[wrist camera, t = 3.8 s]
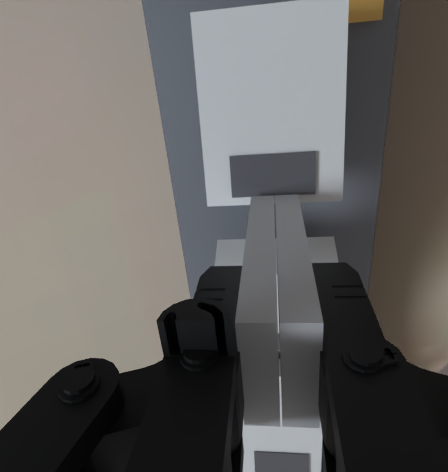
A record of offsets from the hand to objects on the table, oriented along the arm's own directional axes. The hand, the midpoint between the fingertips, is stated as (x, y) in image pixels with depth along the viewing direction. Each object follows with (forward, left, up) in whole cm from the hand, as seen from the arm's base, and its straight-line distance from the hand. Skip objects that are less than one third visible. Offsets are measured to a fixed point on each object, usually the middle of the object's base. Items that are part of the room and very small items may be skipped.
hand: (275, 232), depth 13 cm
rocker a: (-4, 0, -2) cm, 4 cm away
